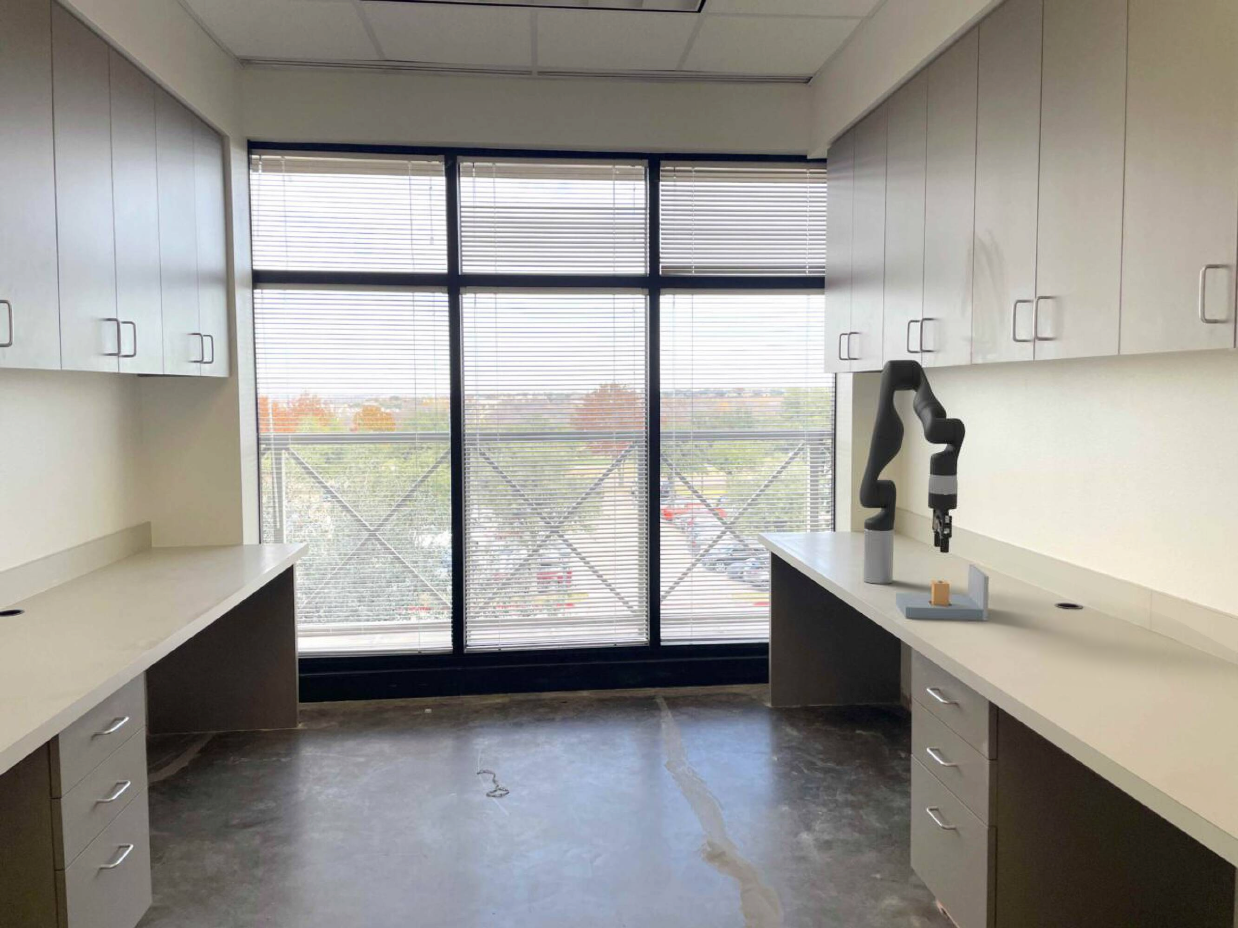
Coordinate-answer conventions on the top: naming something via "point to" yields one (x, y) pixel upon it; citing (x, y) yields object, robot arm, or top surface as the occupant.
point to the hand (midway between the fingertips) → (941, 549)
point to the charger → (940, 593)
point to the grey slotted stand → (950, 601)
